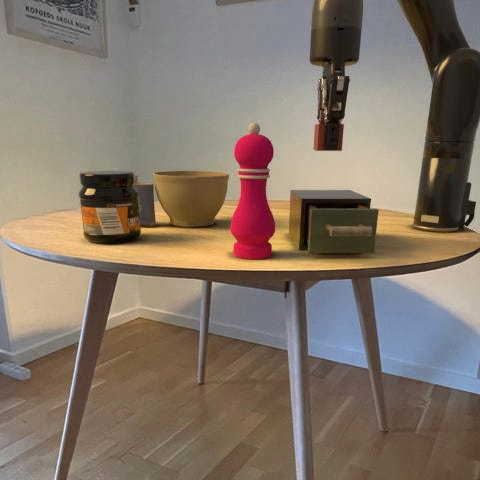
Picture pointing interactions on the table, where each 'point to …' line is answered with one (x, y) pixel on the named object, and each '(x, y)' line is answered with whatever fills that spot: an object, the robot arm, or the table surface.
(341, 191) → the cabinet
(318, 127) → the block
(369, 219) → the drawer
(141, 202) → the flask
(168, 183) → the planter bowl
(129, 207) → the supplement container
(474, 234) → the table surface
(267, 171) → the pepper mill
